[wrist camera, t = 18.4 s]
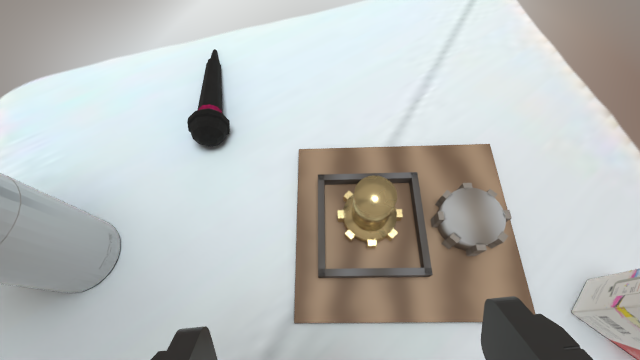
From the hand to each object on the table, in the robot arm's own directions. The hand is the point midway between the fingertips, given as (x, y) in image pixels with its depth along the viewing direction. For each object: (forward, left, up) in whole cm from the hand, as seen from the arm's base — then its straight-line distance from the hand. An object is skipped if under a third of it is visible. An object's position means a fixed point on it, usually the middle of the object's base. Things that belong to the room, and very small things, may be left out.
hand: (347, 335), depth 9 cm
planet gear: (+4, +13, -28) cm, 31 cm away
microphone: (-18, +33, -29) cm, 47 cm away
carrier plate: (+8, +12, -29) cm, 32 cm away
